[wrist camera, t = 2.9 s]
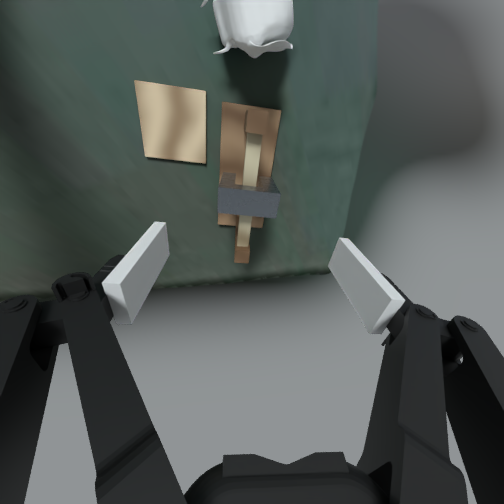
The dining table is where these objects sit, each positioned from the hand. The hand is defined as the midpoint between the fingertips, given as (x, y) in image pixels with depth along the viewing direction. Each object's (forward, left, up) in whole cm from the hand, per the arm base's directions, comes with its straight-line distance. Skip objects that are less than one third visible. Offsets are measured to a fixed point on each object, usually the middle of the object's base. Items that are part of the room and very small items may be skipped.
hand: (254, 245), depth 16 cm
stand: (0, 0, -26) cm, 26 cm away
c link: (0, 0, -17) cm, 17 cm away
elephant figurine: (-1, +19, -26) cm, 32 cm away
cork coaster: (-12, +6, -26) cm, 29 cm away
